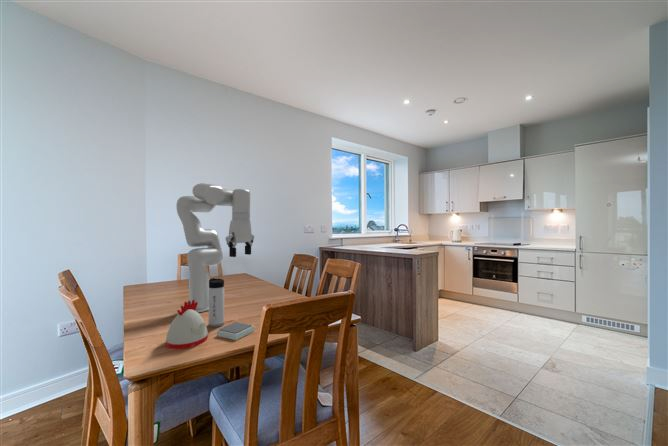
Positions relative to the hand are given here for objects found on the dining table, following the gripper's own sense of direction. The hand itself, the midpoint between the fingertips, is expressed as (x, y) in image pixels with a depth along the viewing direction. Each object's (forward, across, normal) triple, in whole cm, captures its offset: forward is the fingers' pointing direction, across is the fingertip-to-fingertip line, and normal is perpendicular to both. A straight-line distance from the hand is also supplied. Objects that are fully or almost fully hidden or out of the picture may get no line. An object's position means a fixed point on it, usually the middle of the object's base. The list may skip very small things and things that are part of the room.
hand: (240, 255), depth 124 cm
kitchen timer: (+30, +23, -5) cm, 38 cm away
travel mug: (+30, +6, -8) cm, 32 cm away
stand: (+30, +10, +7) cm, 32 cm away
